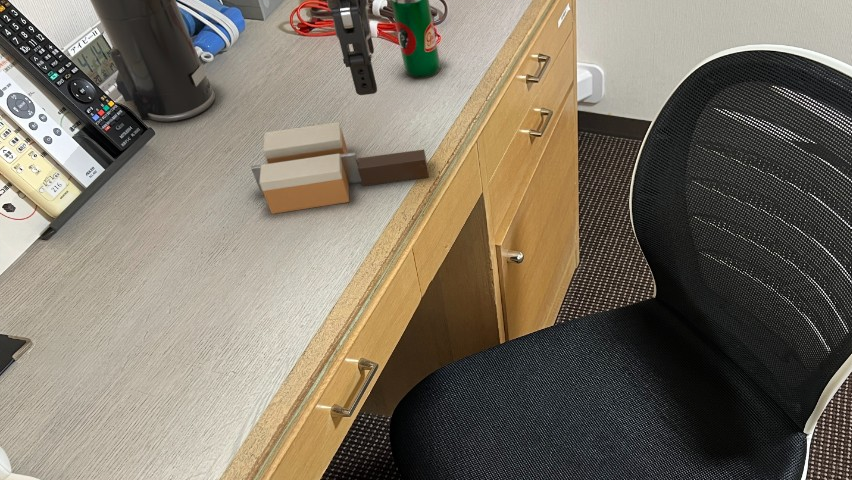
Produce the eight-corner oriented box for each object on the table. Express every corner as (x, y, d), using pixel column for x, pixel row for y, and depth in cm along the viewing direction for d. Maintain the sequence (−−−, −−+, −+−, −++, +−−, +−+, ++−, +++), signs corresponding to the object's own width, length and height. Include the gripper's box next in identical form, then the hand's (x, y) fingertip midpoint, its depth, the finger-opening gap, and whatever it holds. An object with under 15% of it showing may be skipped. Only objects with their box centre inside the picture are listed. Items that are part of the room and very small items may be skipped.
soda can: (438, 79, 117) (423, -5, 108) (403, 80, 117) (385, -3, 108) (442, 61, 120) (428, -21, 111) (408, 62, 120) (391, -20, 111)
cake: (274, 181, 101) (262, 150, 98) (275, 163, 103) (264, 132, 100) (349, 170, 102) (339, 139, 99) (348, 152, 105) (339, 121, 101)
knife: (261, 200, 98) (250, 172, 95) (262, 189, 100) (251, 161, 97) (428, 177, 101) (423, 149, 98) (427, 166, 102) (422, 139, 99)
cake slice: (271, 214, 96) (259, 182, 93) (273, 195, 99) (260, 164, 96) (349, 202, 98) (339, 170, 94) (348, 184, 100) (339, 153, 97)
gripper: (291, -104, 83) (331, 46, 95) (286, -48, 74) (331, 111, 86) (366, -111, 84) (396, 38, 96) (371, -56, 75) (404, 102, 87)
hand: (366, 72), depth 91 cm, fingers open, 8 cm apart
